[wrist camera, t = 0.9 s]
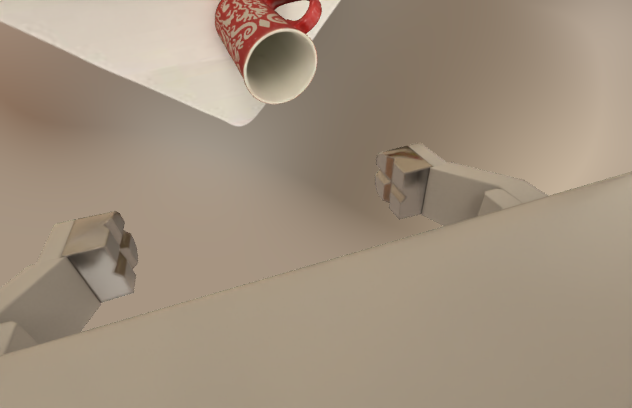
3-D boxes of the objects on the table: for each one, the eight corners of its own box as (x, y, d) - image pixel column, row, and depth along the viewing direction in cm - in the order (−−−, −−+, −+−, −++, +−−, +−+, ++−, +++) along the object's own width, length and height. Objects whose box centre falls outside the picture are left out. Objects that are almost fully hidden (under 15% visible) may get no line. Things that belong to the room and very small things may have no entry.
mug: (242, 67, 50) (280, 117, 43) (192, 24, 43) (227, 76, 35) (301, -2, 47) (353, 39, 40) (258, -61, 40) (311, -23, 32)
